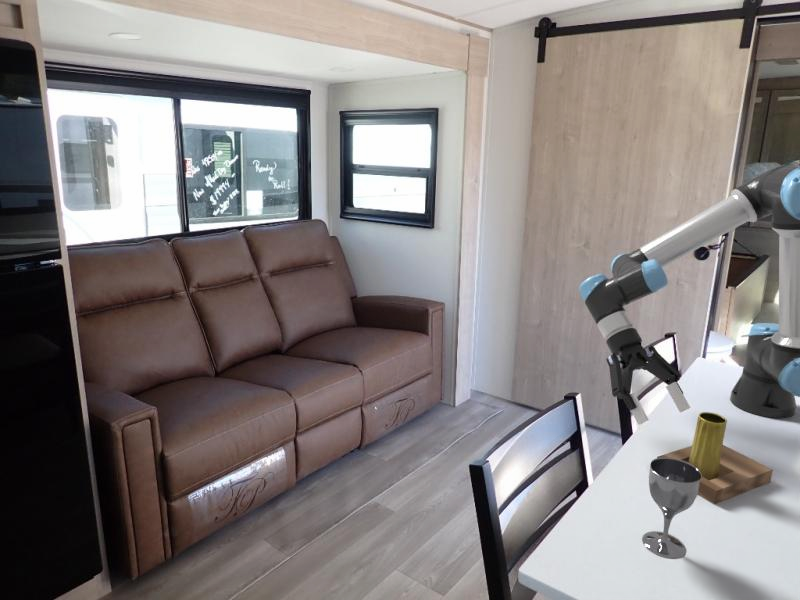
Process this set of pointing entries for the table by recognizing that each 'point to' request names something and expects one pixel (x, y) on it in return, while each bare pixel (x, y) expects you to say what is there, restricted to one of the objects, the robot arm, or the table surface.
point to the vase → (708, 444)
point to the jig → (729, 474)
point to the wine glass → (671, 501)
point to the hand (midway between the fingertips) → (665, 416)
